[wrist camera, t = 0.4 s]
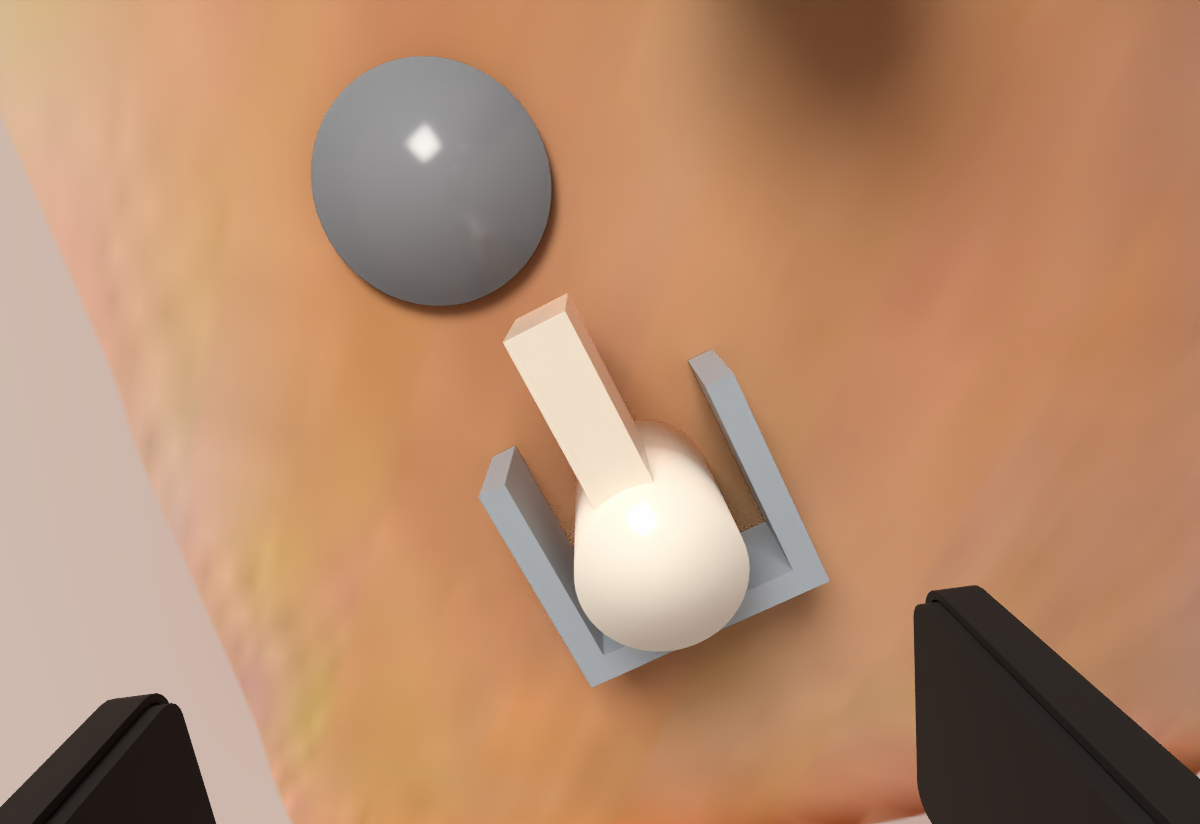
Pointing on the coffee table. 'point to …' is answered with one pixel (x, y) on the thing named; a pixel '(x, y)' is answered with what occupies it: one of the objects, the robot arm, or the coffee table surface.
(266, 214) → the coffee table surface
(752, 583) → the holder
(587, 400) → the white lever knob
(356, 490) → the coffee table surface
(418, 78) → the grey round disc
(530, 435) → the coffee table surface
